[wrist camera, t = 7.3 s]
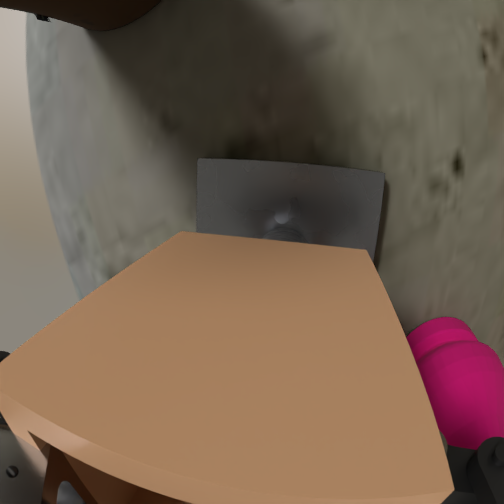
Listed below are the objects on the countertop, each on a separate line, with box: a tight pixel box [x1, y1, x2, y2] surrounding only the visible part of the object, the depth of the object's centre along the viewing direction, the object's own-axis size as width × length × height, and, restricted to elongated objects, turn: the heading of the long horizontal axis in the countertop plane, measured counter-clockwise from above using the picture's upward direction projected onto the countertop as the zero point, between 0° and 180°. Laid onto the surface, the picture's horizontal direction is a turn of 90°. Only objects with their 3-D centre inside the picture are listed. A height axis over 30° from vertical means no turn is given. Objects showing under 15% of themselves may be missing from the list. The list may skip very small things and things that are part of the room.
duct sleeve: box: [0, 231, 454, 504], centre depth 7 cm, size 6×6×8 cm
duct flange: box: [197, 158, 385, 262], centre depth 15 cm, size 10×10×7 cm
